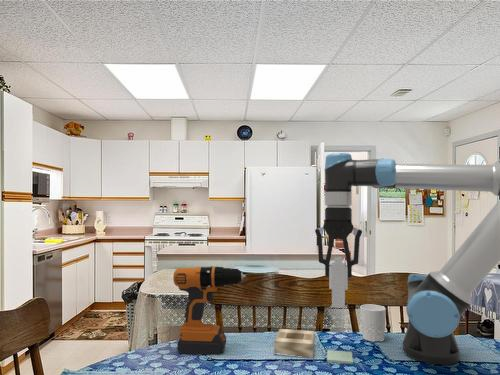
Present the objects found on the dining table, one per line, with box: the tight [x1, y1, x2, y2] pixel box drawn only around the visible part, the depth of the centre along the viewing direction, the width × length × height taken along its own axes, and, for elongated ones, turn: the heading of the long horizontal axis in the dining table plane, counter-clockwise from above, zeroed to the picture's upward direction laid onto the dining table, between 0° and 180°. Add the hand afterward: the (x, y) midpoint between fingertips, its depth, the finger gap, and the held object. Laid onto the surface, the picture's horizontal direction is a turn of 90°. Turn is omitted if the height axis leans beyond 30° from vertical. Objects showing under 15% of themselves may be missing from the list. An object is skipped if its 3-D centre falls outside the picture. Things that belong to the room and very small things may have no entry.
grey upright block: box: [331, 256, 346, 309], centre depth 109 cm, size 4×6×14 cm, turn 168°
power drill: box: [173, 265, 247, 355], centre depth 114 cm, size 22×7×25 cm, turn 87°
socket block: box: [273, 328, 316, 359], centre depth 115 cm, size 11×11×4 cm
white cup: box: [359, 303, 387, 343], centre depth 124 cm, size 8×8×10 cm
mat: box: [326, 349, 354, 365], centre depth 108 cm, size 7×7×1 cm
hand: (338, 288), depth 109 cm, fingers closed on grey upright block, 4 cm apart
